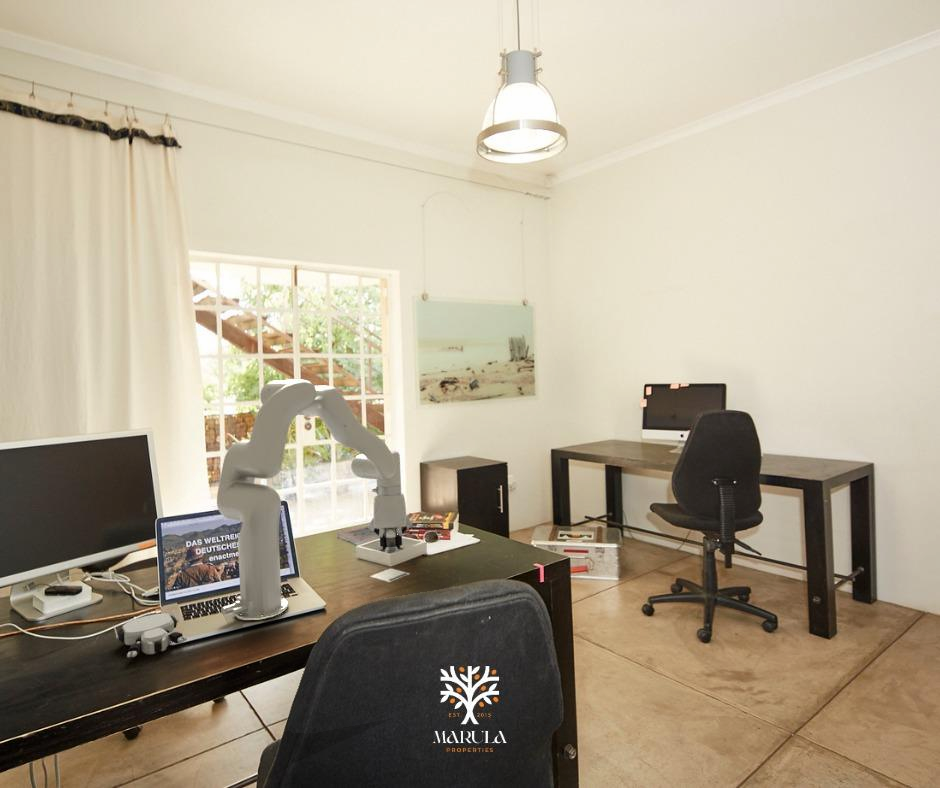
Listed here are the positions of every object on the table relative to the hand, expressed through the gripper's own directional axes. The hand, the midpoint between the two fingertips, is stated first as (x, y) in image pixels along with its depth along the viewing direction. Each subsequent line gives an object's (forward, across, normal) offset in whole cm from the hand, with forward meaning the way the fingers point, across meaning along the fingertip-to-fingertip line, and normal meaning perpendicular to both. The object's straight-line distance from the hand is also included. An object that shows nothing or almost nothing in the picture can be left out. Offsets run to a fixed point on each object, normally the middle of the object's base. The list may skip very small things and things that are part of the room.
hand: (391, 547), depth 182 cm
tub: (+3, 0, 0) cm, 3 cm away
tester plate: (+3, 0, -18) cm, 19 cm away
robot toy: (+4, -51, -50) cm, 71 cm away
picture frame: (+4, -7, +28) cm, 29 cm away
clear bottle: (+1, 0, 0) cm, 1 cm away
